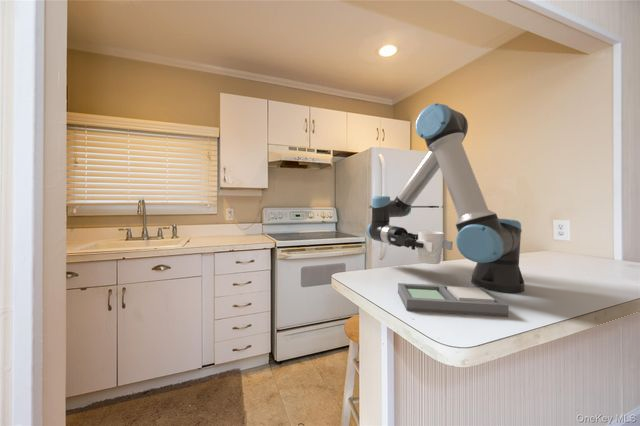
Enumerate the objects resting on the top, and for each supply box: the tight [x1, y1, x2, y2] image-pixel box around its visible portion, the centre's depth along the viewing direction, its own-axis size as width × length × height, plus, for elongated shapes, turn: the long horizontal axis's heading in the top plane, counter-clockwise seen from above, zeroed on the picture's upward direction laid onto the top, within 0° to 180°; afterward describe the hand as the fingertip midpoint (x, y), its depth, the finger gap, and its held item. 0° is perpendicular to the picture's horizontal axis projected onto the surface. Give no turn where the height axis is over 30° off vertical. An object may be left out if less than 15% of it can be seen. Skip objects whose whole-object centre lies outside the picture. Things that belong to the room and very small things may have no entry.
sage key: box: [407, 289, 444, 299], centre depth 74 cm, size 9×9×1 cm
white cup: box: [417, 230, 445, 265], centre depth 86 cm, size 8×8×10 cm
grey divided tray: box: [397, 282, 509, 318], centre depth 73 cm, size 25×13×3 cm, turn 83°
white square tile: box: [446, 285, 495, 302], centre depth 73 cm, size 9×9×1 cm
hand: (442, 246), depth 82 cm, fingers closed on white cup, 7 cm apart
